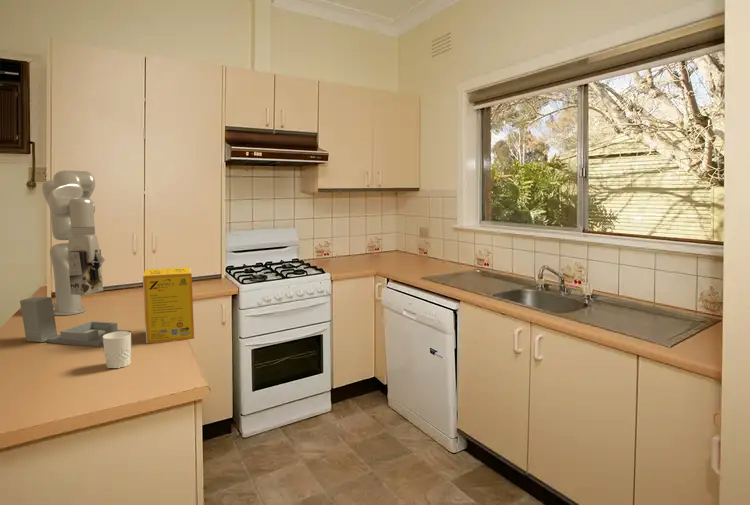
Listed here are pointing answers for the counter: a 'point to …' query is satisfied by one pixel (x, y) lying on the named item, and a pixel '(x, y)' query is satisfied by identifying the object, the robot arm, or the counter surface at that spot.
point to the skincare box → (38, 318)
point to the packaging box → (168, 304)
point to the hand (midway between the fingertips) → (86, 279)
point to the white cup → (117, 349)
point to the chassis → (86, 334)
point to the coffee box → (82, 275)
